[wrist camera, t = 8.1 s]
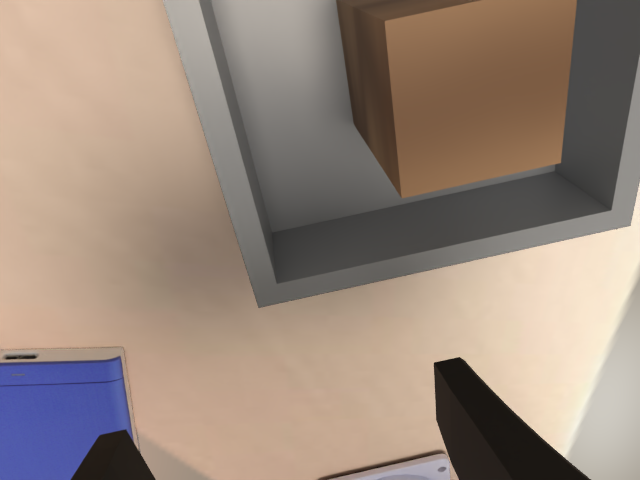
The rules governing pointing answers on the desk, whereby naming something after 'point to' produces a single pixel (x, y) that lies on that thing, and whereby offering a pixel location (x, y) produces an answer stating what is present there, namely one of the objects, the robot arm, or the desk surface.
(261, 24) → the grey bin
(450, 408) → the robot arm
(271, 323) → the desk surface
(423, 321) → the desk surface
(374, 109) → the walnut block
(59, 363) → the hard drive
